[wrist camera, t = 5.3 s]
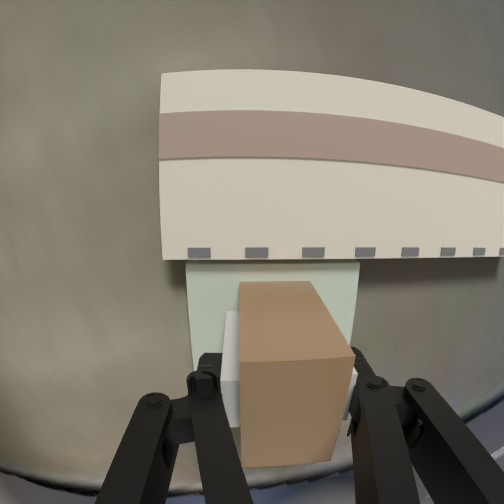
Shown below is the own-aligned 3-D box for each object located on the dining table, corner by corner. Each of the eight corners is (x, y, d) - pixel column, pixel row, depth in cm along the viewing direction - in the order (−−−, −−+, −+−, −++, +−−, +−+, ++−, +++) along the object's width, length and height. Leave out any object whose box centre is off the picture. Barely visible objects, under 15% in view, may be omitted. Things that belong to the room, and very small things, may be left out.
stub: (196, 372, 20) (177, 475, 11) (188, 259, 18) (145, 333, 10) (340, 367, 21) (384, 461, 12) (354, 258, 19) (432, 323, 10)
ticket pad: (170, 250, 18) (162, 260, 16) (169, 83, 16) (161, 73, 14) (501, 249, 19) (518, 256, 17) (507, 127, 17) (525, 125, 15)
